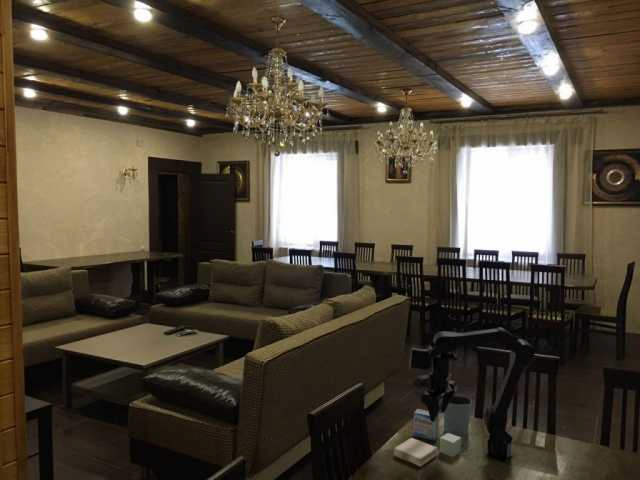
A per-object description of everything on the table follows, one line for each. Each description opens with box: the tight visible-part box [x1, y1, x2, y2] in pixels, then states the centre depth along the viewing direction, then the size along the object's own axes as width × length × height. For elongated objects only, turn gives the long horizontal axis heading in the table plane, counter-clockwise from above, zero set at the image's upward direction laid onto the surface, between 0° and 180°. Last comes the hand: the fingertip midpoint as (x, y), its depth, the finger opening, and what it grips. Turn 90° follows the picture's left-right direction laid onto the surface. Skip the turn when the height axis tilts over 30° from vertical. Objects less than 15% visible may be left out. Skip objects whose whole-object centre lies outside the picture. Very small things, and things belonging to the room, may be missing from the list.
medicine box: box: [412, 408, 440, 441], centre depth 188 cm, size 8×4×9 cm, turn 62°
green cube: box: [439, 433, 462, 458], centre depth 177 cm, size 5×5×5 cm
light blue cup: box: [442, 393, 473, 438], centre depth 192 cm, size 10×10×12 cm
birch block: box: [393, 437, 438, 467], centre depth 175 cm, size 10×10×3 cm
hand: (437, 416), depth 176 cm, fingers open, 9 cm apart
